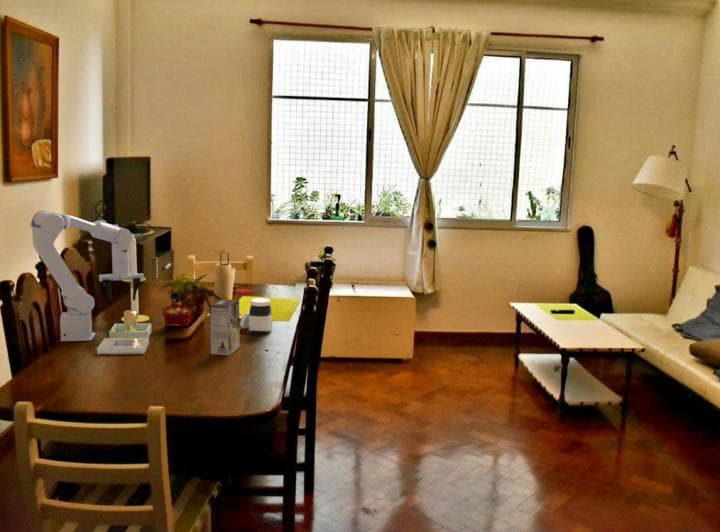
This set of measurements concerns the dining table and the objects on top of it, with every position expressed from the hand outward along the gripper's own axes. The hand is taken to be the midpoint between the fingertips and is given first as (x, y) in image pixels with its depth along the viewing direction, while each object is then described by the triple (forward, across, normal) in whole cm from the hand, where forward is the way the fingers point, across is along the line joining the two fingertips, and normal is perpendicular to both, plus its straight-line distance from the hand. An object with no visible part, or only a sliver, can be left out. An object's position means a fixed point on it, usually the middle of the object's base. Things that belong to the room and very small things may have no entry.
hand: (122, 300), depth 234 cm
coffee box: (+11, +31, -33) cm, 46 cm away
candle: (+11, +4, +12) cm, 17 cm away
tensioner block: (+10, 0, -23) cm, 26 cm away
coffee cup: (+11, +20, +1) cm, 23 cm away
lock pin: (+10, +2, -10) cm, 14 cm away
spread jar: (+11, +44, -13) cm, 47 cm away
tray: (+10, +2, -10) cm, 14 cm away
